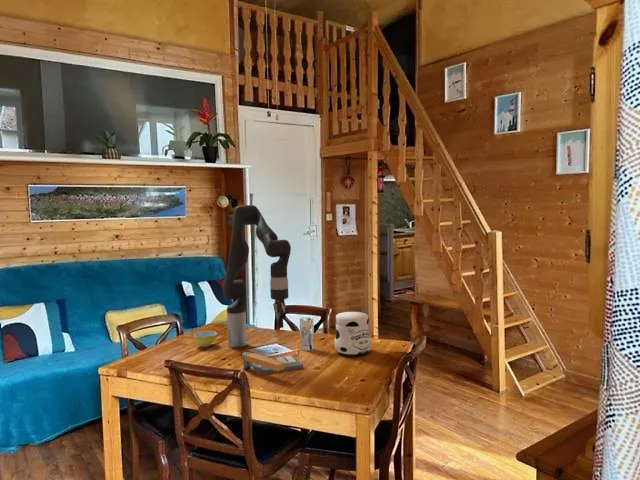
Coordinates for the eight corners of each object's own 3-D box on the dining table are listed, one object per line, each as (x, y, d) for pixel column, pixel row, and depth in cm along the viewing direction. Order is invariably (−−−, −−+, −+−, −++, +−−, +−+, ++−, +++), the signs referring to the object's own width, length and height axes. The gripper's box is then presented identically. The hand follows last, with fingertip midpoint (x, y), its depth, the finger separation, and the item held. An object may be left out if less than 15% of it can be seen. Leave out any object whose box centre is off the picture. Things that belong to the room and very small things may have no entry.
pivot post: (243, 368, 210) (242, 359, 210) (249, 367, 211) (249, 358, 211) (244, 370, 207) (244, 361, 207) (251, 369, 208) (251, 360, 208)
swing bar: (240, 359, 209) (240, 353, 208) (247, 356, 211) (247, 351, 211) (277, 371, 192) (277, 365, 192) (284, 368, 195) (284, 362, 195)
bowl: (214, 348, 240) (213, 336, 240) (191, 349, 240) (191, 337, 240) (219, 342, 251) (219, 330, 251) (197, 342, 252) (197, 331, 251)
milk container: (366, 359, 218) (365, 320, 216) (329, 356, 223) (329, 318, 222) (374, 348, 234) (374, 312, 233) (340, 346, 240) (339, 310, 238)
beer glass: (298, 348, 237) (297, 318, 236) (311, 346, 240) (310, 316, 239) (302, 352, 231) (302, 321, 230) (316, 350, 233) (315, 319, 232)
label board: (250, 364, 214) (250, 360, 214) (293, 358, 221) (293, 354, 221) (257, 374, 201) (257, 370, 201) (303, 368, 208) (303, 363, 208)
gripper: (266, 285, 208) (267, 324, 210) (274, 290, 196) (276, 332, 197) (283, 284, 211) (284, 323, 212) (292, 288, 199) (293, 330, 200)
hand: (280, 327), depth 205 cm, fingers closed
